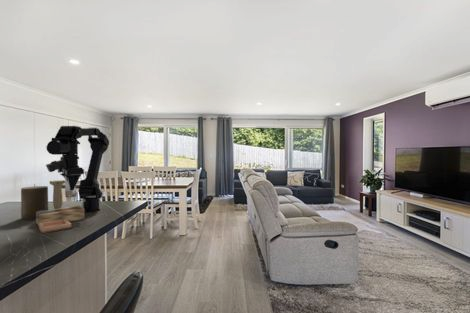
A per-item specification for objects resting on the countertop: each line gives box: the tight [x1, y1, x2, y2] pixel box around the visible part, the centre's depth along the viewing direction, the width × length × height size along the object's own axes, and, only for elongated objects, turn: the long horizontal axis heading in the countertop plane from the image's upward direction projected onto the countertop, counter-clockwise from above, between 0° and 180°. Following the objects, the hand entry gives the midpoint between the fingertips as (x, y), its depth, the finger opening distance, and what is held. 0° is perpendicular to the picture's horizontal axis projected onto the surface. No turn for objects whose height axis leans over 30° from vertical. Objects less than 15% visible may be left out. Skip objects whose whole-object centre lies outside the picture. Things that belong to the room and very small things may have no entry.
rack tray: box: [38, 219, 72, 234], centre depth 99 cm, size 9×9×2 cm
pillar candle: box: [20, 184, 49, 221], centre depth 115 cm, size 10×10×15 cm
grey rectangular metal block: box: [36, 208, 55, 219], centre depth 105 cm, size 6×3×2 cm, turn 135°
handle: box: [49, 179, 65, 209], centre depth 127 cm, size 5×6×15 cm
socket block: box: [35, 205, 85, 226], centre depth 109 cm, size 16×8×4 cm, turn 135°
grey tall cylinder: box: [64, 177, 77, 198], centre depth 111 cm, size 4×4×9 cm
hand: (70, 189), depth 111 cm, fingers closed on grey tall cylinder, 4 cm apart
